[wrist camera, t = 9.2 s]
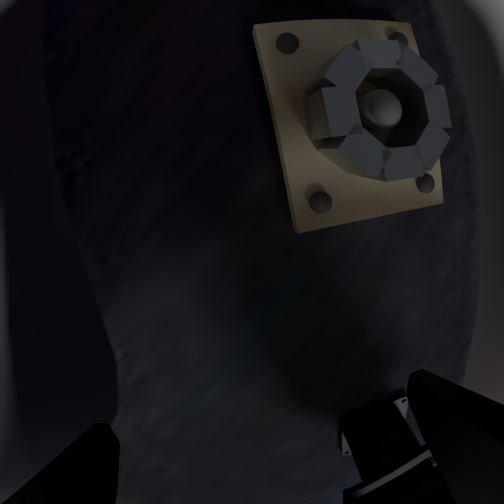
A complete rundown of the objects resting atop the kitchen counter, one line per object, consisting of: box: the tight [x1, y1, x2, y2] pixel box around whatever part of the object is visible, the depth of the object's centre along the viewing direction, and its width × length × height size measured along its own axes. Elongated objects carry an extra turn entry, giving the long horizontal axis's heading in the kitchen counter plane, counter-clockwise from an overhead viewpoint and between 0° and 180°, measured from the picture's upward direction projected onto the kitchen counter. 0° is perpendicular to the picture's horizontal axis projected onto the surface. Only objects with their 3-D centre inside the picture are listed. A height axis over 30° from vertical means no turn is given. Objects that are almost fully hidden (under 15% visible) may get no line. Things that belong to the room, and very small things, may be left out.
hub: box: [302, 39, 452, 182], centre depth 14 cm, size 7×7×4 cm
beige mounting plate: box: [252, 19, 443, 233], centre depth 14 cm, size 12×10×5 cm
